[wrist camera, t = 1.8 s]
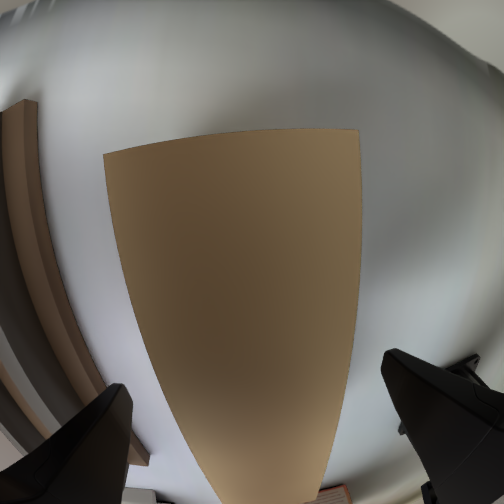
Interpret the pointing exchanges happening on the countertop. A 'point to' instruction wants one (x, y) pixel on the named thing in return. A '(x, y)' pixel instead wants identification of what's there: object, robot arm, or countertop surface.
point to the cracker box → (332, 496)
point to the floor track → (37, 305)
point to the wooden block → (246, 295)
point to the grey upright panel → (139, 496)
